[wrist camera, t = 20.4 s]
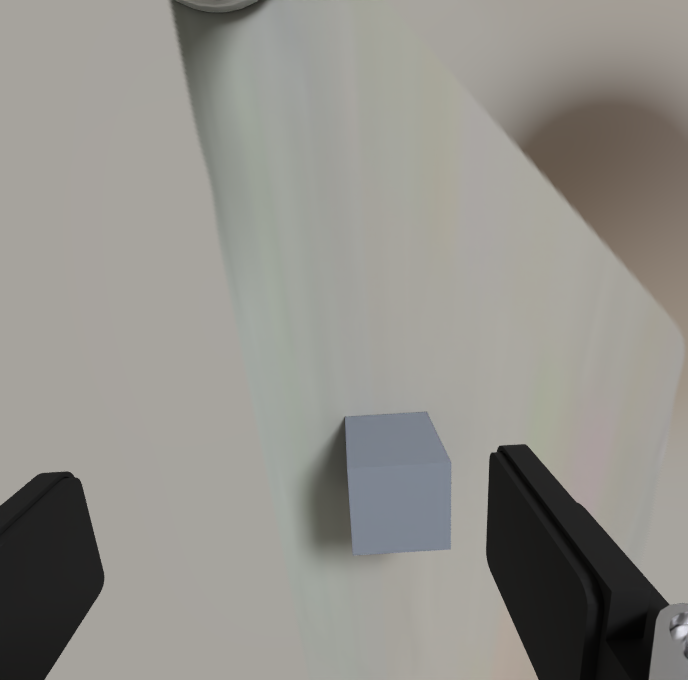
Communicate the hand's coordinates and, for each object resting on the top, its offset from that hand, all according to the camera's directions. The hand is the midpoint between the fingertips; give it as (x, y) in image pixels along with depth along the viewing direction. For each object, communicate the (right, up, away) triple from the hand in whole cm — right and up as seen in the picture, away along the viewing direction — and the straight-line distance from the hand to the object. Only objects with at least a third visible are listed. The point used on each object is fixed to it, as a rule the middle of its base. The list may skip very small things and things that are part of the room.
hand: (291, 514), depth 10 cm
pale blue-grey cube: (+5, -7, +31) cm, 32 cm away
